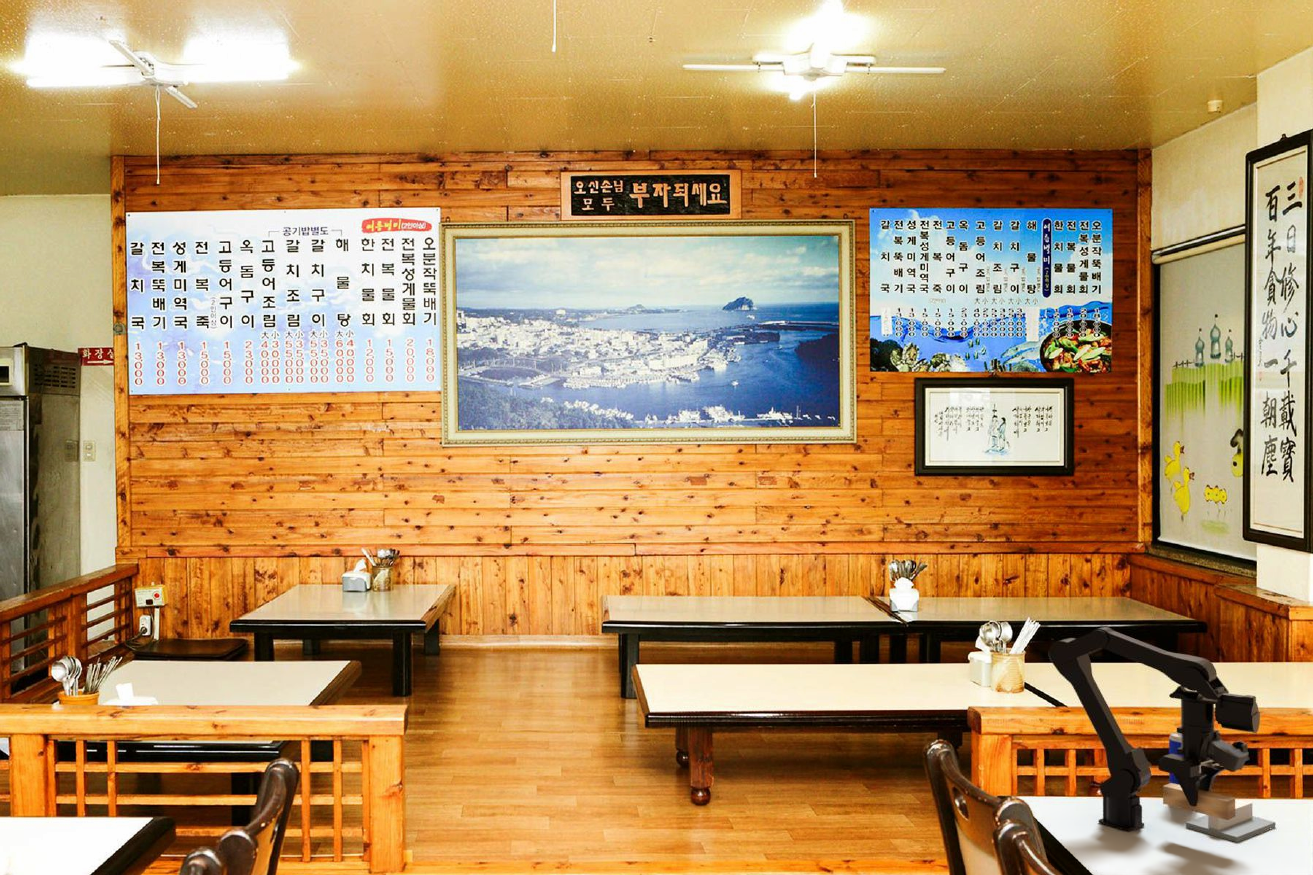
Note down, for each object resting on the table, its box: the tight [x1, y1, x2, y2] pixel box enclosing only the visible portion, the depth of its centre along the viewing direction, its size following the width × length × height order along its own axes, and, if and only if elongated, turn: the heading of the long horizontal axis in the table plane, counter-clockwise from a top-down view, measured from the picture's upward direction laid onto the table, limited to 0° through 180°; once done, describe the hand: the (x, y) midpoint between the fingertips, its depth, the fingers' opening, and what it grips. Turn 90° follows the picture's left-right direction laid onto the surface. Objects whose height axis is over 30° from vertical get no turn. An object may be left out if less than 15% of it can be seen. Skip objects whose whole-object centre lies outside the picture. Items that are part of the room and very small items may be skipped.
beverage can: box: [1168, 732, 1184, 785], centre depth 219 cm, size 5×5×15 cm
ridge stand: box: [1185, 800, 1276, 843], centre depth 205 cm, size 10×16×4 cm, turn 125°
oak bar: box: [1162, 783, 1236, 820], centre depth 195 cm, size 12×4×4 cm, turn 39°
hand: (1198, 804), depth 195 cm, fingers closed on oak bar, 4 cm apart
